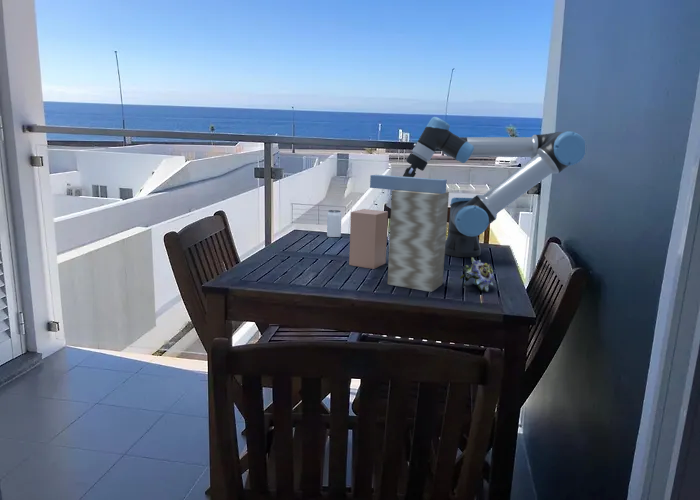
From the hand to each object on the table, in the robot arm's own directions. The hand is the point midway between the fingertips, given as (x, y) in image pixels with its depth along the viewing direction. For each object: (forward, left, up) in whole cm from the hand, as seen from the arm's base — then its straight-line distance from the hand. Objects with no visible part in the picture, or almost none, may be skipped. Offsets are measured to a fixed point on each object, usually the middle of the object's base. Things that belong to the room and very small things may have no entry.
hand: (390, 205), depth 200 cm
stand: (-8, +36, -20) cm, 42 cm away
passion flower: (-27, +37, -21) cm, 50 cm away
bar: (-4, +34, +10) cm, 36 cm away
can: (+25, -38, -21) cm, 50 cm away
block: (+8, +12, -20) cm, 25 cm away
